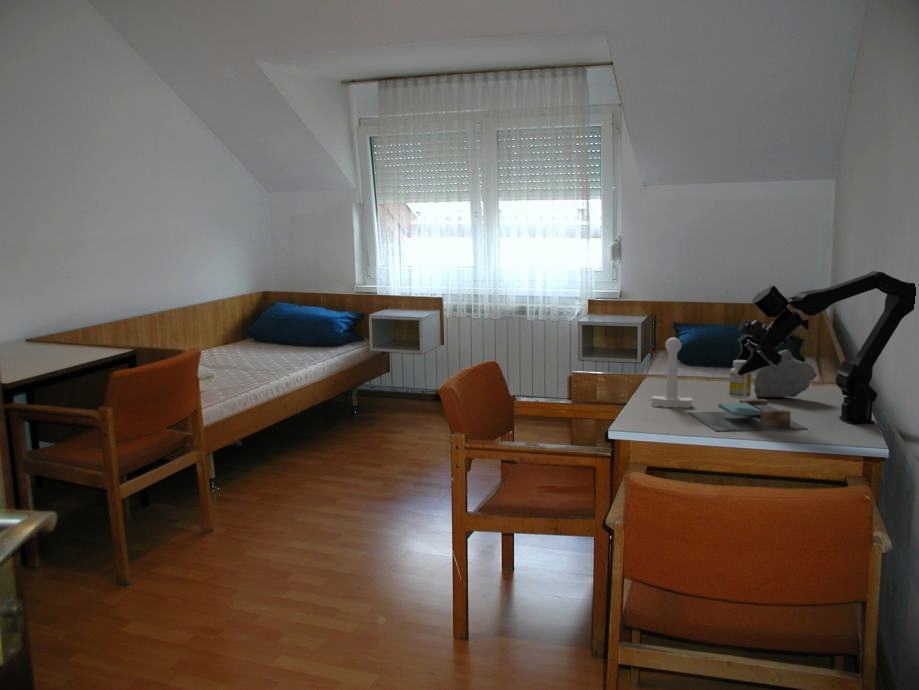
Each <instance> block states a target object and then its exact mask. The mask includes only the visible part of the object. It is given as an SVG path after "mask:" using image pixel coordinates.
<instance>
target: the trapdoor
mask: <svg viewBox="0 0 919 690" xmlns="http://www.w3.org/2000/svg"><path fill="white" fill-rule="evenodd" d="M718 408H719V409H721V410H723V411H726V412H728V413H730V414H731V415H733V416H738V415H759V416H761V411H767V410H778V409H777V408H775V407H773V406H771V405H769V404H768V405H767V404H765V405H753V406H751V405H749V404H747V403H740V402H723V403H718Z"/></svg>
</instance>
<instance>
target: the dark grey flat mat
mask: <svg viewBox="0 0 919 690" xmlns="http://www.w3.org/2000/svg"><path fill="white" fill-rule="evenodd" d="M739 403H747V404H749V405H751V406H753V405H765V404H767V405H769V400H767V399H765V398H762V399H761V398H758V399H757V398H755V399H749V398H748V399H739ZM688 413H689V415H690V416H691V415H692V417H693V418H694V417H695V419H696V420H697V419H698V421H699V422H700V423H702V424H704V425H705V426H707V427H708V428H710V429H711V430H713V431H714V432H715V433H716V432H717V433H719V432H754V431H757V432H758V430H761V431H790V430H791V431H792V430H793V431H795V430H800V429H801V430H808V427H806V426H804V425H802V424H801V423H799V422H796V421H794V420H793V419H791V414H792V412H791V411H790V410H788V409H786V410H785V409H781V410H780V409H777V410H767V411H761V416H759V415H738V416H733V415H731V414H730V413H728V412H726V411H725V410H723V411H689V412H688ZM801 430H800V431H801Z"/></svg>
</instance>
